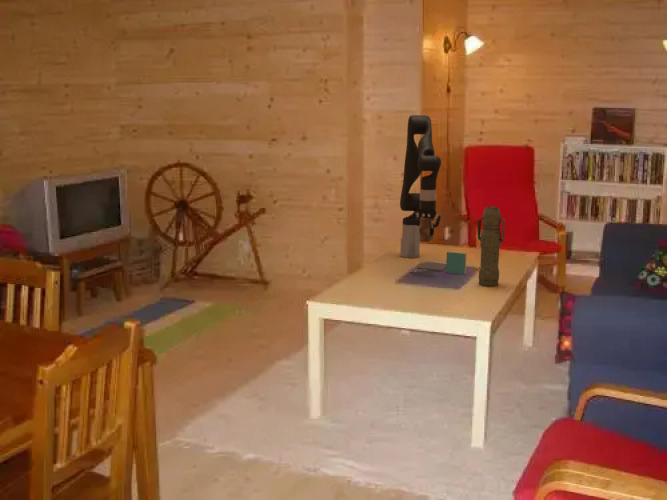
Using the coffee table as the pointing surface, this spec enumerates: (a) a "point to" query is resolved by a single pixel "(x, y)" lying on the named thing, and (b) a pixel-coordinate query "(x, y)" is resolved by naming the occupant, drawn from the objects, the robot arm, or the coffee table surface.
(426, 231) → the tall wooden block
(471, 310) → the coffee table surface
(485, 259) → the olive canister
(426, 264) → the rest mat
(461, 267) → the tile
